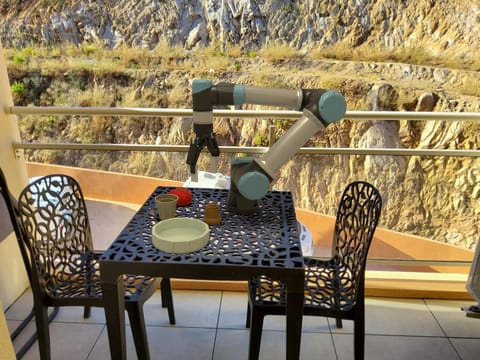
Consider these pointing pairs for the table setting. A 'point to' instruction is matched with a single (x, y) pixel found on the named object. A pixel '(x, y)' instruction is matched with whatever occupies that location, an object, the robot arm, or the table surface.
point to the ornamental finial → (212, 214)
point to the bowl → (180, 235)
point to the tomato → (182, 196)
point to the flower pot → (166, 206)
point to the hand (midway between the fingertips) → (204, 176)
